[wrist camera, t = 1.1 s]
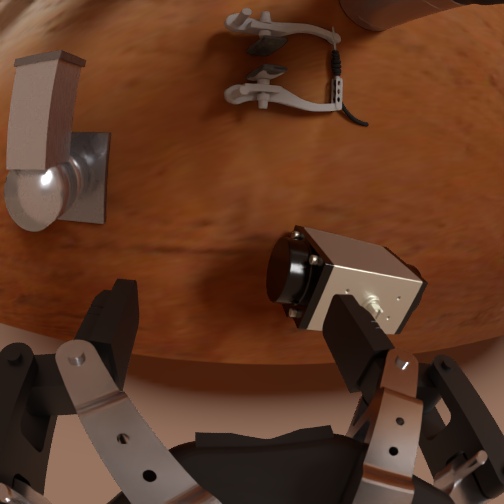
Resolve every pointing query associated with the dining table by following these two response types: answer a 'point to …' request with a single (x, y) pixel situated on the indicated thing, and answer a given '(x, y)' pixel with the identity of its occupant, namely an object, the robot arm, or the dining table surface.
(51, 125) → the elbow
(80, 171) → the duct stub
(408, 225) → the dining table surface
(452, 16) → the dining table surface
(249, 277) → the dining table surface
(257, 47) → the bike brake
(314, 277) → the ball valve
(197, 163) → the dining table surface
